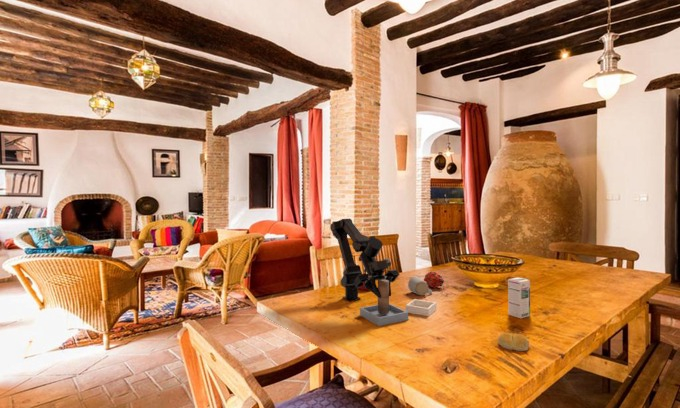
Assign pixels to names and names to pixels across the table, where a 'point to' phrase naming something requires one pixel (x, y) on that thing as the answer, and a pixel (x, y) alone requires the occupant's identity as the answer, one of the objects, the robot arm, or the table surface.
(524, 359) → the table surface
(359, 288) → the pomegranate
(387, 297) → the pepper mill
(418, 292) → the ceramic mug
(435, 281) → the dragon fruit
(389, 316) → the tray
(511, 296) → the syrup box
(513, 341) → the bread roll
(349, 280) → the robot arm
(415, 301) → the holder
